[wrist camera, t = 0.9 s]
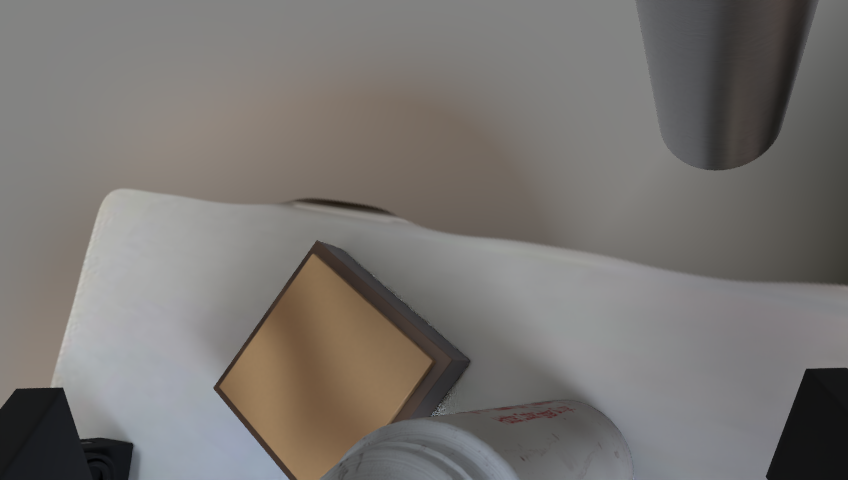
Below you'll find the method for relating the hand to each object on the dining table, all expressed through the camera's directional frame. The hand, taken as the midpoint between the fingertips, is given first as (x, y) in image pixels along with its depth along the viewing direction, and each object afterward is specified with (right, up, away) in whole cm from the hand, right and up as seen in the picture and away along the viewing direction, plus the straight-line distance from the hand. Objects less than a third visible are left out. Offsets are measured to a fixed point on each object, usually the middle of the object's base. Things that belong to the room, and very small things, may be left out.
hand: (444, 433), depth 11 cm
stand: (-6, -7, +35) cm, 36 cm away
